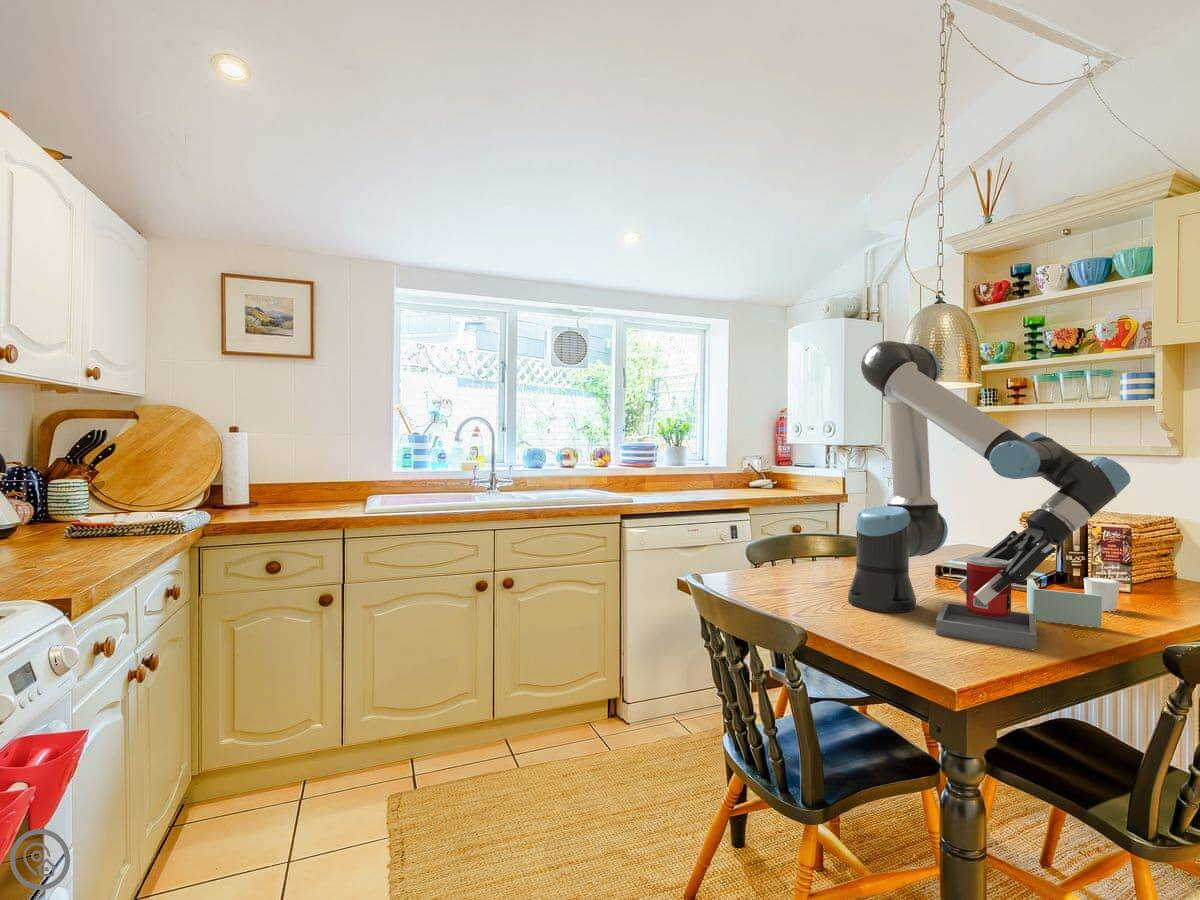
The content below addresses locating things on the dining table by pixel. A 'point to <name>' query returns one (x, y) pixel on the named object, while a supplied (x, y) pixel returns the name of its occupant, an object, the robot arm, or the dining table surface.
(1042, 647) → the dining table surface
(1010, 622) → the gray square tray
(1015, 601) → the dining table surface
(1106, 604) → the white cup
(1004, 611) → the canned food
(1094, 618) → the l-shaped corner panel
